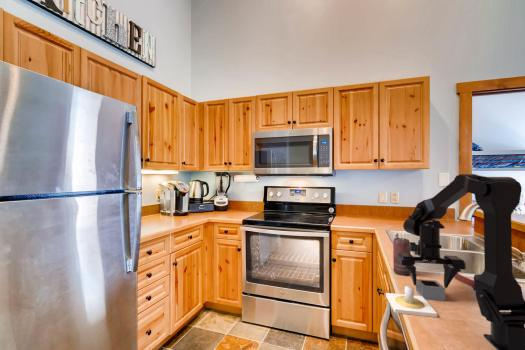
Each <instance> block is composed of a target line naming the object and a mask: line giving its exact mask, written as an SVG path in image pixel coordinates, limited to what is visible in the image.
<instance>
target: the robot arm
mask: <svg viewBox="0 0 525 350" xmlns="http://www.w3.org/2000/svg"><path fill="white" fill-rule="evenodd" d="M468 193H470V194H473V195H474V200H475V202H476V204H477V205H478V207H479V208H480V210H481V211H482V212H483V245H484V246H483V247H484V250H483V251H484V253H483V254H484V257H483V258H484V270H483V272H482V273H481V274H474V276H473V281H474V289H473V291H475V297H476V300H477V304H478V307H479V311H480V315H481V316H482V317H484V318H485V320H486V321H487V322H490V334H489V333H488V334H487V333H484V334H483V337H484V338H485V339H486V340H487V341H488V342H489V343H490V344H491V345H492V346H493V347H494V348H495V349H496V350H525V299H524V296H523V291H522V287H521V284H519V282H518V280H517V279H516V278H515V277H514V275H513V243H512V242H513V240H512V239H513V237H512V215H513V212H514V211H515V210H516V209H517V207H518V206H519V204H520V201H521V196H522V184H521V183H520V182H519V181H518V180H517V179H516V178H513V177H512V176H511V177H510V176H483V175H479V174H474V173H460V174H458V175H456V176H455V177H454V179H453V180H452V181H451V182H449V184H447V185H446V186H445V187H443V189H441V190H440V191H439V192H438V193H436V194H435V195H434V196H433V197H431V198H427V199H424V200H422V201H420V202H418V203H417V204H416V205H415V208H414V210H413V212H412V214H411V215H409V214H408V218H407V219H406V220H404V222H403V225H402V226H403V230H404V231H405V232H406V233H408V234H411V235H414V236H417V237H419V240H418V242H417V244H416V242H415V241H414V242H413V241H411V242H410V241H409V245H408V247H409V251H410V253H399V254H398V255H397V260H398V261H399V262H400V264H401V265H404V266H405V267H406V268H407V269H408V271H409V273H410V278H411V280H412V283H413V285H414V286H415V287H416V279H417V267H416V266H415V265H416V263H419V264H433V265H442V266H443V270H444V272H443V274H444V275H443V287H444V288H445V289H448V287H449V285H450V284H451V282H452V281H453V279H455V277H454V276H455V275H456V274H457V273H458V274H459V273H461V272H462V270H467V265H466V262H465V259H462V258H461V257H459V256H457V255H444V256H443V257H441V249H442V244H441V235H440V234H441V233H440V232H441V231H440V230H441V229H445V228H446V227H445V226H444V225H443V223H441V222H440V220H442V219H443V217H444V216H446V214H447V213H448V208H449V207H451V205H453V204H455V203H456V202H458V201H460V199H461V198H463V197H464V196H466V195H467V194H468ZM411 252H412V253H413V252H414V255H416V256H413V255H412V254H411Z"/></svg>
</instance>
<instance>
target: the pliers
mask: <svg viewBox="0 0 525 350" xmlns="http://www.w3.org/2000/svg"><path fill="white" fill-rule="evenodd" d="M454 279H455V280H456V281H458V282H461V283H463V284H465V285H467V286H470V287H471V289H474V279H471V278H468V277H466V276H464V275H462V274H459V272H458V273H457V274H456V275H455V276H454Z"/></svg>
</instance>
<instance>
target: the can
mask: <svg viewBox="0 0 525 350" xmlns="http://www.w3.org/2000/svg"><path fill="white" fill-rule="evenodd" d="M409 242H410V240H409V239H407V238H404V237H403V238H402V237H396V238H395V237H394V238H393V242H392V243H393V244H392V246H393V249H392V250H393V251H392V252H393V253H392V255H393V256H392V257H393V262H392V263H393V272H394V273H395V274H396V275H398V276H403V277H404V276H409V275H410V273H409V271H408V269H407V268H406V267H405V266H404V265H401V264H400V262H399V261H398V260H397V255H398V254H399V253H410V254H411V251H409V247H408V245H409ZM410 276H411V275H410Z"/></svg>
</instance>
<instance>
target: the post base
mask: <svg viewBox="0 0 525 350" xmlns="http://www.w3.org/2000/svg"><path fill="white" fill-rule="evenodd" d="M414 291H415V289H414V287H413V286H409V285H408V286H407V285H405V286H404V294H403V293H390V292H385V297H386V299H387V301H388V302H389V305H390V306H391V308H392V310H393V312H394V313H395V314H403V315H414V316H423V317H432V318H438V313H437V311H436V310H435V309H434V308H433V307H432V305H430V304H429V302H428V301H427V299H424V298H423V296H420V295H415V292H414Z"/></svg>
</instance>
